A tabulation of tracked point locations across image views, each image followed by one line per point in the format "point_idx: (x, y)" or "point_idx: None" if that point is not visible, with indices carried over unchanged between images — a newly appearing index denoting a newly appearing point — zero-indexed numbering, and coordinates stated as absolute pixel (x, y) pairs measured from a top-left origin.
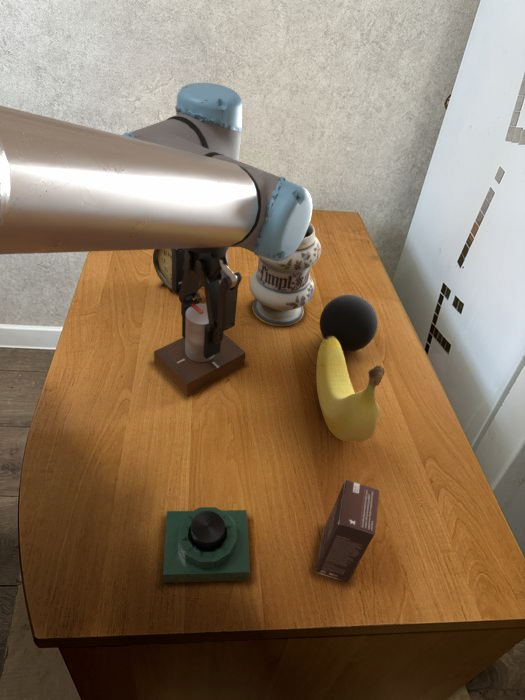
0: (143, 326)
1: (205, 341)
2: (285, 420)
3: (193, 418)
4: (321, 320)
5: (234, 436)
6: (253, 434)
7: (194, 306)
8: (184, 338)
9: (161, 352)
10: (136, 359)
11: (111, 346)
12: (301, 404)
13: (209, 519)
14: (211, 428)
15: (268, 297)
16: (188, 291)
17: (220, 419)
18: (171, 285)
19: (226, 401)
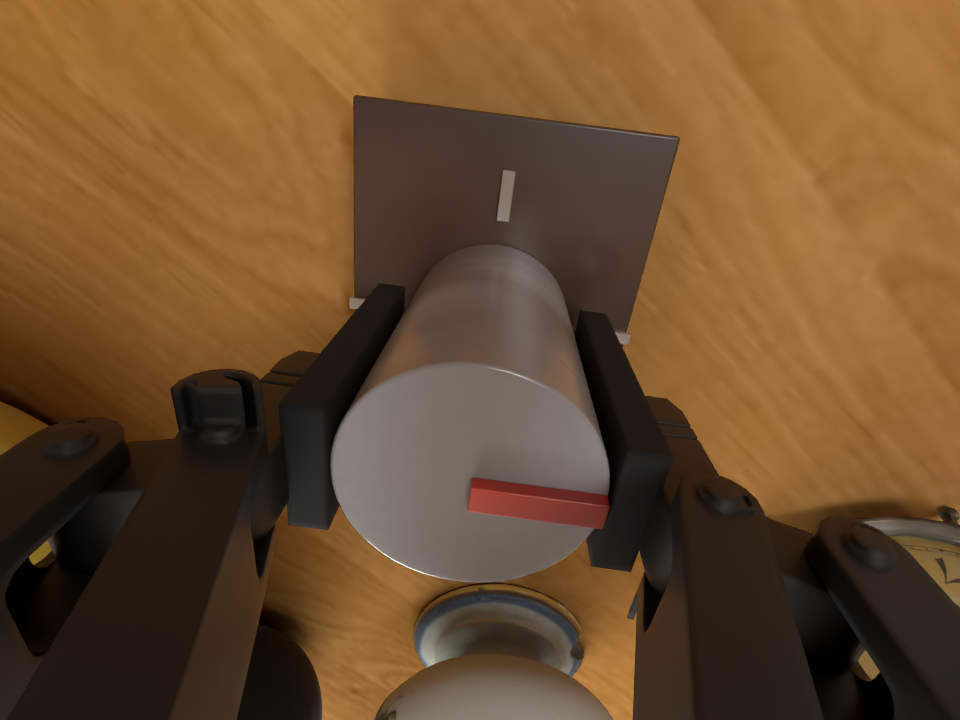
0: (871, 281)
1: (363, 332)
2: (71, 308)
3: (254, 18)
4: (265, 709)
5: (76, 91)
6: (55, 164)
7: (568, 508)
8: (583, 310)
9: (638, 164)
10: (753, 85)
11: (945, 43)
12: (113, 399)
13: None
14: (161, 42)
15: (461, 710)
16: (672, 641)
17: (188, 118)
18: (911, 532)
19: (260, 217)
